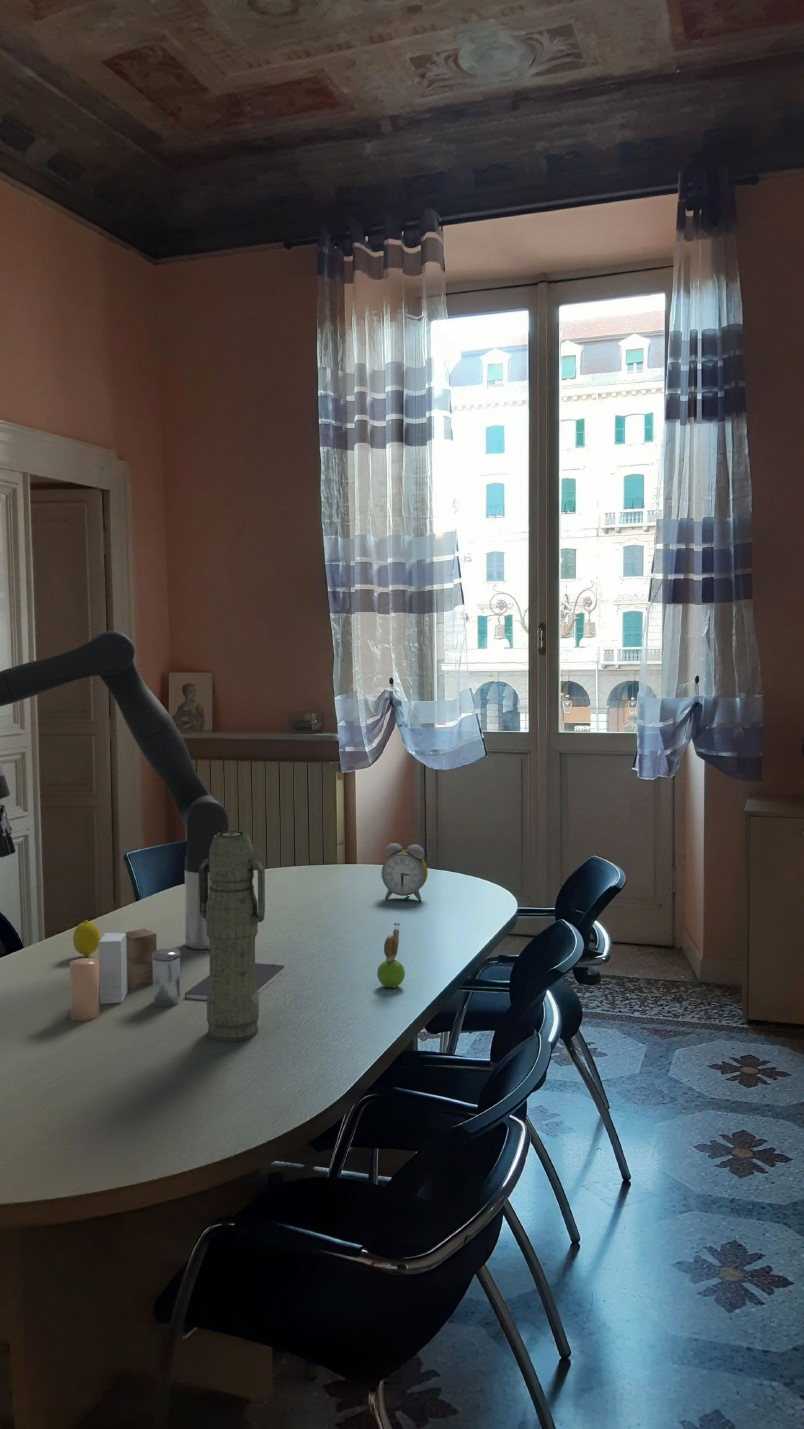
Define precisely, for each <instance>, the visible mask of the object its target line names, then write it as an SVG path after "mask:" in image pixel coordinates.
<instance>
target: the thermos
mask: <svg viewBox="0 0 804 1429" xmlns="http://www.w3.org/2000/svg"><path fill="white" fill-rule="evenodd" d="M254 850H255V849H254V846H253V843H252V840H251V838H250V835H249V834H248V833H245V832H244V831H239V830H229V831H225V832H220V833H218V834H217V835H215V836H214V837H213V841H212V844H211V847H210V851H209V859H207V860H204V861H203V862H202V863H201V865H200V866H199V868H198V872H199V895H200V914H201V916H202V917H203V918H204V919H205V921H206V928H207V936H208V938H209V949H208V950H209V975H210V990H209V993H208V996H207V1000H206V1021H207V1023H208V1028H207V1036H208V1037H209V1038H211V1039H212V1040H215V1041H218V1042H219V1041H220V1042H226V1043H227V1042H240V1041H245V1040H248V1039H252V1038H254V1037H255V1036H257V1034H258V1033H259V1027H258V1021H259V1016H260V1015H259V1010H260V1009H259V1007H260V1006H259V1005H260V1004H259V1002H260V1000H259V993H258V991H257V988H256V985H255V963H256V937H257V934H258V930H259V929H258V926H259V924H258V923H262V922H263V921H264V920H265V913H266V912H265V910H266V908H265V907H266V890H265V888H266V885H265V884H266V883H265V882H266V879H265V875H266V874H265V872H266V871H265V867H264V866H263V864H262V862H261V861H259V860H257V859H255V858H254V857H255V856H254ZM208 866H209V869H210V880H211V886H210V894H209V897H208ZM255 869H256V871H257V897H256V893H255V886H254V884H253V883H254V880H253V879H254V878H255V873H254V870H255Z"/></svg>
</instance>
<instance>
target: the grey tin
mask: <svg viewBox="0 0 804 1429" xmlns="http://www.w3.org/2000/svg"><path fill="white" fill-rule="evenodd" d="M180 959H181V951H180V950H179V949H177V948H176V949H175V948H160V949H157V950H156V951H153V952H152V962H153V984H152V1004H153V1006H155V1007H159V1008H167V1007H174V1006H177V1005H179V1004H180V1003H181V971H180V970H181V966H180V964H181V961H180Z"/></svg>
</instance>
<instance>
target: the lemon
mask: <svg viewBox="0 0 804 1429" xmlns="http://www.w3.org/2000/svg"><path fill="white" fill-rule="evenodd" d="M100 937H101V935H100V931H99V928H98V927H97V925H96V924H94V923H93V922H91V921H89V920H84V921H82V922H81V923H79V924H78V925H77V926H76V928H75V929H74V932H73V936H72V938H73V939H72V942H73V947H74V949H75V950H76V951H77V952H78V953H79V954H81V955H83V956H84V958H89V957H90V955H91V954H93V953H94V952H96V951H97V949H99V941H100V940H101V938H100Z"/></svg>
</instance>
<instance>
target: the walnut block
mask: <svg viewBox="0 0 804 1429" xmlns="http://www.w3.org/2000/svg"><path fill="white" fill-rule="evenodd" d="M123 933H126V953H127V986H128V987H131V988H132V989H137V988H141V987H142V988H143V987H145V986H149V985H153V962H152V952H153V951H156V950H158V949H157V933H155V932H153V931H151V930H149V929H147V928H141V929H140V928H139V929H134V930H131V931H126V932H123Z"/></svg>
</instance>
